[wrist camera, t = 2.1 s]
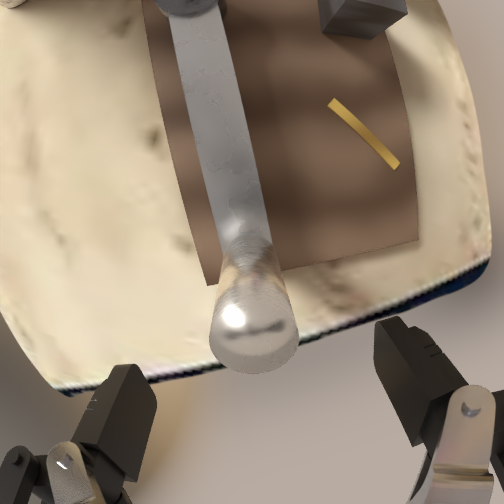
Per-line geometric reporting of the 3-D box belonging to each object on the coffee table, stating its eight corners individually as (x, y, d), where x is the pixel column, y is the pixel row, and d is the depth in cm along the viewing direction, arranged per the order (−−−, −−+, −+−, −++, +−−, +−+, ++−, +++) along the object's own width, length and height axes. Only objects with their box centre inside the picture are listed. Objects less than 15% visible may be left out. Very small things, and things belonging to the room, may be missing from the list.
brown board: (147, 3, 16) (113, -42, 8) (350, -24, 15) (383, -68, 7) (210, 275, 24) (196, 330, 17) (407, 232, 23) (459, 266, 16)
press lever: (163, -2, 14) (107, -89, 3) (221, -16, 14) (205, -118, 3) (224, 267, 21) (208, 380, 11) (283, 255, 21) (318, 361, 10)
